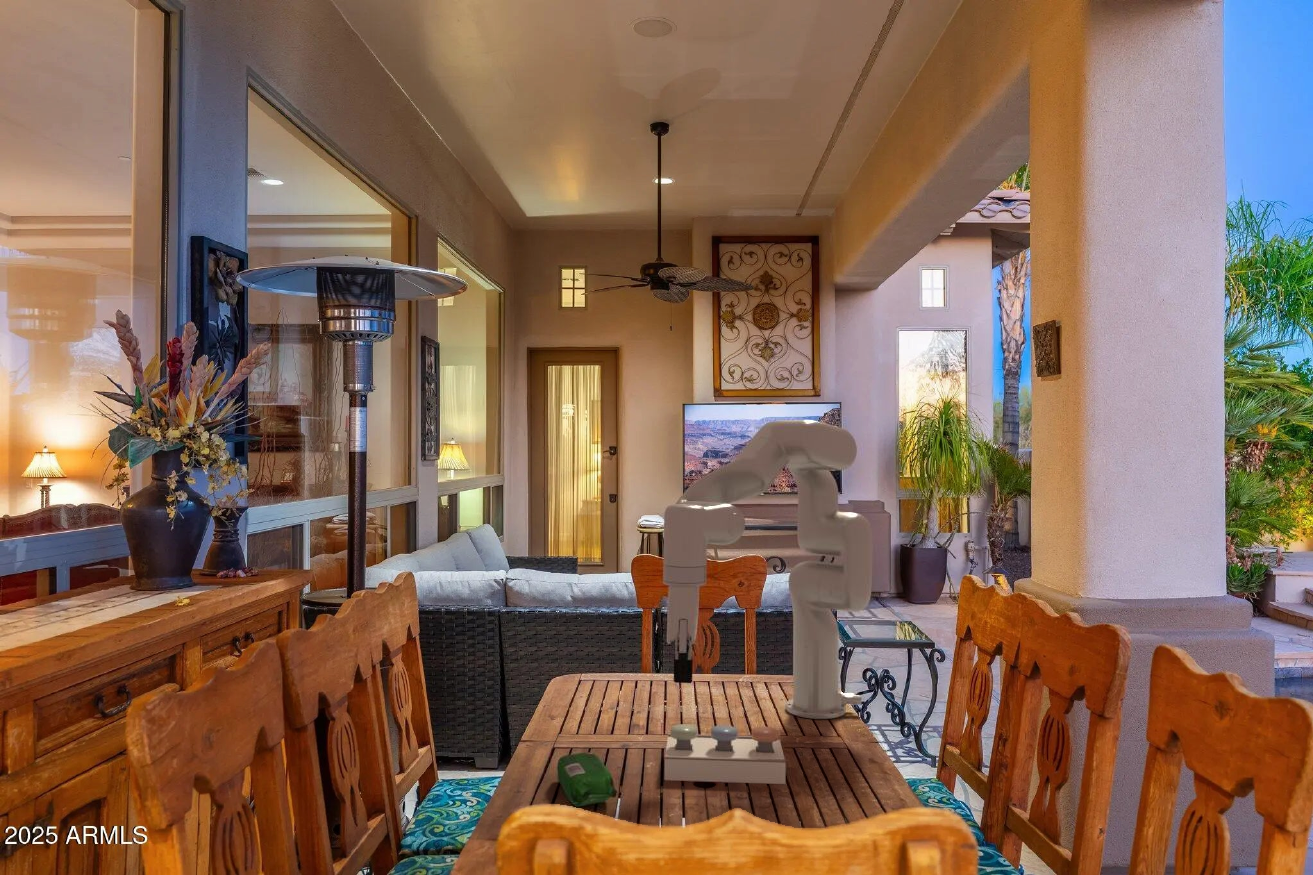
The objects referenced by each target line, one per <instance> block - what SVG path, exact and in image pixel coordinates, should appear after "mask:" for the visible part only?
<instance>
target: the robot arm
mask: <svg viewBox="0 0 1313 875" xmlns="http://www.w3.org/2000/svg"><path fill="white" fill-rule="evenodd" d="M857 451H858V448H857V442H856V440H855V438H854V436H853V435H852V433H851V432H850V431H848V430H847V429H845V428H842V427H839V426H835V425H833V424H832V425H831V424H828V423H824V422H821V421H818V420H811V419H788V420H787V419H785V420H782V419H781V420H772V421H768V422H766V423H765V424H764V425H762V426H761V427H760V428H759V430H757V432H756V433H755V434H754V435H753V437H752V438H751V439H750V440H749V442H747V444H746V445H745V446H744V448H743V449H742V450H741V451H740V452H739V454H737V456H736V457H735V458H734V460H732V461H730V462H729V463H727V464H725V465H723V466H722V465H721V467H719V468H717V469H715V470H714V471H712V472H710V473H708V474H706V475H704V476H702V477H700V478H698V479H697V480H696V481H695V482H693V483H692V484H691V485H690V486H689V487H687V489H686V490H685V491H684V493H682V495H681V496H680V497H679V498H678V499H677V501H676V503H675V504H670V505H668V506H667V507H666V508H665V510H664V517H663V566H662V568H663V570H662V572H663V573H662V576H663V578H662V584H663V585H666V586H668V593H667V623H666V624H667V626H666V642H667V644H669V645H671V643H672V642H674V645H675V648H674V650H675V653H674V655H675V656H674V657H673V682H674V683H676V684H691V683H693V670H694V669H693V664H694V663H693V662H694V660H693V659H694V658H693V657H692V648H693V647H692V645H694V644H695V643H696V638H697V631H698V624H699V623H698V622H699V609H700V607H699V604H700V602H699V601H700V587H703V586H707V561H708V560H707V559H708V558H707V557H708V556H707V554H708V553H707V552H708V551H707V550H708V548H707V547H708V545H718V546H728V545H731V544H734V543H736V542H737V541H738V540H740V539H741V537H742V536H743V535H744V532H745V529H746V519H745V516H744V514H743V511H741V509H739V507H737V506H735V505H733V504H731V503H735V502H740V501H742V500H747V499H750V498H751V499H752V498H753V497H756V496H759V495H761V494H763V493H765V492H766V491H767V490H768V489H769V488H770V486H771V485H772V484H773V483H774V481H775V480H776V478H777V477H778V476H779V474H781V472H782V470H784V468H787V470H788V471H789V473H790V475H792V477H793V480H794V481H795V484H796V489H797V527H796V528H797V529H796V530H797V532H796V533H797V543H798V546H799V548H800V549H801V551H803V553H807V554H808V555H814V556H824V557H831V558H832V557H833V558H841V561H842V563H836V562H835V563H834V562H828V561H827V562H826V561H817V560H806V561H802V562H799V563H796V565H795V566H793V568H792V569H791V571H790V573H789V576H788V590H789V596H790V601H791V607H792V618H793V619H792V620H793V623H792V624H793V625H792V626H793V628H792V629H793V631H792V633H793V638H792V641H793V644H792V646H793V653H792V655H793V656H792V660H793V662H792V668H793V669H792V673H793V674H792V699H789V700H787V701H786V702H785V710H786V711H787V713H789V714H792V715H794V716H797V717H801V718H806V719H811V720H812V719H814V720H829V719H837V718H840V717H842V716H844V715H845V714H846V713H847V712H846V711H847V707H846V706H847V705H853V706H854V705H857V706H861V705H862V696H861V694H860V695H859V694H854V693H853V692H851V693H850V692H849V693H848V692H847V693H845V692H844V693H843V692H842V691H841V689H840V688H839V653H840V652H839V648H840V647H839V641H840V640H839V638H840V635H839V634H840V633H839V625H838V622H837V619H836V617H835V615H834V614H833V612H832V610H837V611H842V612H843V611H844V612H850V613H851V612H852V613H853V612H854V613H856V612H857V613H858V612H861V611H863V610H865V609H866V608H867V607H868V605H869V602H870V601H871V596H872V587H873V584H872V583H873V557H874V556H873V553H874V552H873V550H874V545H873V543H874V541H873V540H874V539H873V531H872V527H871V524H870V522H869V520H868V519H867V518H866V517H865V516H863V515H862V514H860V513H858V512H850V511H849V512H848V511H847V512H846V511H840V510H839V509H840V508H839V488H838V484H837V482H836V480H835V477H834V476H833V475H832V473H831V471H844V470H846V469H848V468H850V467H851V466H852V464H854V462H855V460H856V458H857V453H858V452H857Z"/></svg>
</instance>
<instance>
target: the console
mask: <svg viewBox="0 0 1313 875" xmlns="http://www.w3.org/2000/svg"><path fill="white" fill-rule="evenodd" d="M786 769H787V768H786V758H785V755H784V752H783V747H782V743H781V737H780V736H778V740H777V741H775V742H772V753H762V752H758V741H755V740H753V739H752V735H738V738H737V739H736V740H733V741H731V752H729V751H717V740H715V739H713V738H711V734H698V733H697V737H696V738H694V739H691V750H677V739H674V738H672V737H671V733H667V741H666V748H665V754H664V781H676V782H678V781H679V782H680V781H683V782H684V781H685V782H686V781H687V782H706V783H707V782H708V783H709V782H710V783H712V782H713V783H714V782H715V783H737V784H738V783H740V784H741V783H742V784H745V783H747V784H770V785H771V784H774V785H775V784H776V785H786Z"/></svg>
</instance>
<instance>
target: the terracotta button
mask: <svg viewBox="0 0 1313 875" xmlns="http://www.w3.org/2000/svg"><path fill="white" fill-rule="evenodd" d="M751 736H752V739H753V740H755V741H758V752H762V753H772V742H775V741H777V740H778V737H779V730H778V729H777V728H774V727H772V726H756V727H753V728H751Z"/></svg>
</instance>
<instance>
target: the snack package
mask: <svg viewBox="0 0 1313 875" xmlns="http://www.w3.org/2000/svg"><path fill="white" fill-rule="evenodd" d="M556 769H557V770H556V771H557V779H558V782H559V783H560V785H561V787H562V789H563V790H562V791H563V792H564V794H565V796H566V797H567V798H568V800H569V802H571V804H573V806H575V807H577V808H578V807H583V806H587V805H593V804H595V805H596V804H599V803H600V804H601V803H604V802H606V801H607V800H609V799H610V798H613V799H615V798H616V797H617V794H618V790H616V788H615V785H614V779H613V777H612V775H611V772H610V771H609V770H608V768H607V767H606V766H605V764H604V762H603V761H602V760H601V759H600V757H599V756H598V755H597V754H596V753H593V752H589V751H587V752H579V753H572V754H567V755H563V756H561V757H560V758H559V759H558V761H557V767H556Z"/></svg>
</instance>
